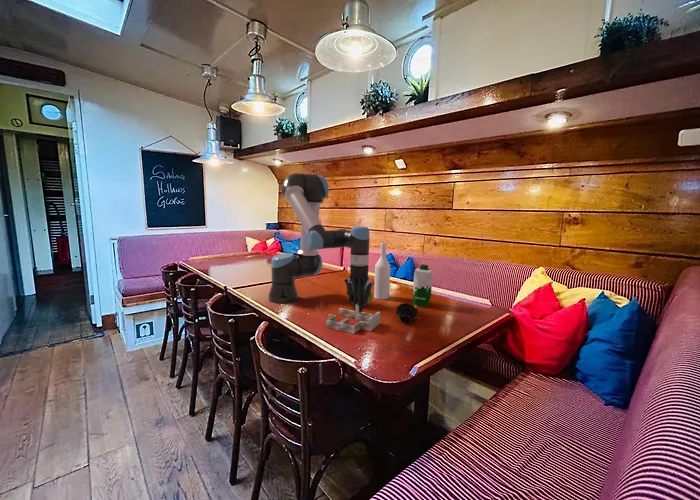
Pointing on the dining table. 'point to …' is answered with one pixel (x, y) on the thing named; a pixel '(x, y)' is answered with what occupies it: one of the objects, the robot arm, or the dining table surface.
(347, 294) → the snack cup
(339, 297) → the dining table surface
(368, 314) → the cream block
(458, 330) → the dining table surface
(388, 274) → the bottle
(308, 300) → the dining table surface
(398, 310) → the fried shrimp in bowl
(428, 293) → the milk carton
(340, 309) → the box
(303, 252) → the robot arm
